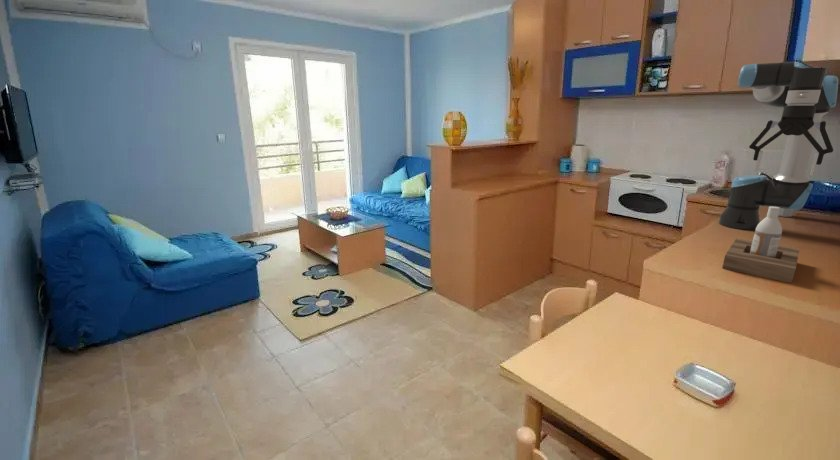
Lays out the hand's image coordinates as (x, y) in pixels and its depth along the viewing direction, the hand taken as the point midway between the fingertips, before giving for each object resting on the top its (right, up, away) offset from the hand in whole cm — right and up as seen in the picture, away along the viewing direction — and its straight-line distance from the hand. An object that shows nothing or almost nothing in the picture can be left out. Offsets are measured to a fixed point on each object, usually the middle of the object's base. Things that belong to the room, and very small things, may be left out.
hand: (782, 172), depth 132 cm
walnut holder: (0, -31, +9) cm, 33 cm away
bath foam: (0, -31, +9) cm, 32 cm away
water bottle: (+64, -12, +72) cm, 97 cm away
